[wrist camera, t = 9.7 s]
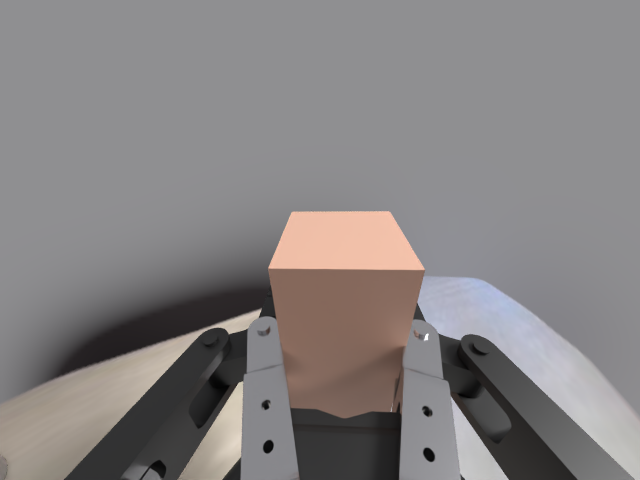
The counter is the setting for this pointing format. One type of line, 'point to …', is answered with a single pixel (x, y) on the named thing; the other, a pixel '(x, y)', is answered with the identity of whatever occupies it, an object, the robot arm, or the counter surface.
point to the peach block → (344, 308)
